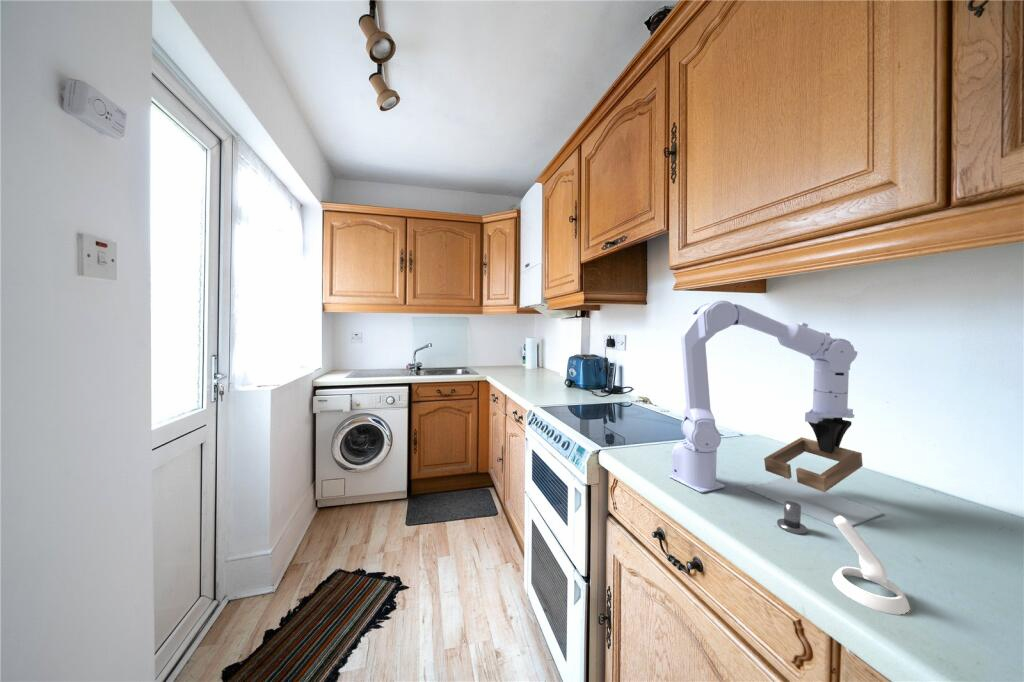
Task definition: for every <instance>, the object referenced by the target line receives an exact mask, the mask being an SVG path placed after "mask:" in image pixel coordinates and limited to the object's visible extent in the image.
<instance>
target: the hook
mask: <svg viewBox="0 0 1024 682" xmlns="http://www.w3.org/2000/svg"><path fill="white" fill-rule="evenodd" d="M833 521H834V523H835V524H836V526H837V527H838V528H837V527H836V528H837V529H838V530H839V531H840V532H841V533H842V535H843V536H844V538H845V539H846V540H847V541H848V542H849V544H850V545H851V546H852V548H853V549H854V550H855V551H856V553H857V554H858V563H859V566H860V568H859V567H854V566H842V567H840V568H838V569H837V570H836V571H835V572H834V574H833V575H832V578H831V580H832V583H833V585H834V586H835V587H836V588H837V590H839V591H840V592H841V593H843V595H845V596H847V597H848V598H849V599H851V600H853V601H855V602H857V603H858V604H860V605H862V606H865V607H868V608H869V609H872V610H875V611H877V612H881V613H885V614H890V615H894V616H895V615H897V616H899V615H900V616H902V615H901V614H903V615H906V614H905V613H906V612H908V611H909V610H910V611H911V606H910V603H909V601H908V599H907V596H906V595H905V593H904V592H903V591H902V590H901V587H899V586H897V585H896V584H895V583H894V582H892V581H890V580H889V579H888V571H887V569H886V567H885V565H884V564H883V563H882V561H881V560H880V559H879V557H878V556H877V555H876V554H875V552H873V550H872V549H871V548H870V546H869V545H868V544H867V543H866V541H865V540H864V539H863V538H862V537H861V536H860V535H861V534H859V533H858V532H857V530H856V529H855V528H854V526H852V525H851V524H850V523H849V522H848V521H847V520H846V519H845V518H844V517H842V516H840V515H839V516H837V517H835V518H834V519H833ZM845 576H851V577H856V578H861V579H863V580H867V581H870V582H873V583H874V584H876V585H879V586H881V587H883V588H885V589H887V590H888V591H889V592H892V593H893V594H895V595H896V596H895V597H891V596H890V597H888V596H884V595H883V596H882V595H879V594H875V593H872V592H869V591H867V590H865V589H862V588H860V587H858V586H857V585H855V584H853V583H852V582H850V581H849V580H848V579H847V578H846V577H845ZM910 611H909V612H910ZM909 612H908V613H909Z"/></svg>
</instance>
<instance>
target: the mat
mask: <svg viewBox="0 0 1024 682" xmlns="http://www.w3.org/2000/svg"><path fill="white" fill-rule="evenodd" d="M745 489H746V490H747V491H750V492H753V493H755V494H757V495H759V496H762V497H764V498H767V499H769V500H772V501H773V502H776V503H778V504H780V505H783V506H784V503H785V501H791V502H795V503H798V504H799V505H801V514H804V515H807V516H809V517H812V518H814V519H816V520H817V521H821V522H823V523H826V524H827V525H830V526H833V527H835V528H837V529H839V528H838V527H837V526H836V524H835V523H834V521H833V519H834V518H835V517H837V516H839V515H840V516H842V517H844V518H845V519H846V520H847V521H848V522H849V523H850V524H851V525H852V527H854V526H857V525H859V524H862V523H864V522H867V521H869V520H873V519H875V518H878V517H880V516H882V515H885V512H884V511H881V510H878V509H876V508H872V507H869V506H867V505H864V504H861V503H859V502H855V501H852V500H850V499H847V498H844V497H842V496H838V495H836V494H833V493H830V492H827V491H826V492H822V491H820V490H817V489H814V488H811V487H809V486H806V485H803V484H801V483H798V482H797V480H793V479H792V478H790V479H787V478H784V477H782V478H778V479H773V480H770V481H766V482H763V483H758V484H754V485H751V486H746V487H745Z"/></svg>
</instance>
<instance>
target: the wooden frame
mask: <svg viewBox="0 0 1024 682" xmlns="http://www.w3.org/2000/svg"><path fill="white" fill-rule="evenodd" d="M803 453H807V454H812V455H815V456H818V457H822V458H826V459H829V460H833V461H835V462H837V463H835V464H834V465H833V466H831V467H829V468H828V469H826V470H825V471H823V472H822V473H820V474H819V473H818V472H817V473H816V472H814V471H810V470H808V469H805V468H801V467H797V468H796V469H795V472H796V481H797V482H798V483H801V484H803V485H806V486H809V487H811V488H814V489H817V490H820V491H822V492H827V491H829V490H830V489H832V488H833V487H834V486H836V485H837V484H839V483H840V482H842V481H844V480H845V479H846V478H848V477H849V476H851V475H852V474H853V473H854V472H857V471H858V470H860V469H861V468H862V467H863V454H862V452H859V451H855V450H852V449H848V448H845V447H841V446H839V447H837V446H835V447H834V451H833V453H827V452H823V451H820V449H819V446H818V442H817V440H813V439H810V438H806V437H803V436H801V437H799V438H797V439H795V440H794V441H792V442H791V443H788V444H787V445H785V446H783V447H781V448H780V449H778V450H776V451H775V452H772V453H771V454H770V455H768V456H765V457H764V458H763V460H764V469H765V471H766V472H769V473H772V474H774V475H777V476H779V477H782V478H787V479H792V478H793V476H792V467H791V464H790V463H789V462H790V461H792V460H793V459H796V457H798V456H800V455H802V454H803Z"/></svg>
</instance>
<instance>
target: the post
mask: <svg viewBox="0 0 1024 682" xmlns="http://www.w3.org/2000/svg"><path fill="white" fill-rule="evenodd" d="M783 506H784V509H783V510H784V511H783V513H784V514H783V518H779V519H777V521H776V524H777V526H778V527H779V528H780V529H782V530H783V531H786V532H788V533H791V534H795V535H807V533H808V527H807V526H805V524H803V523H801V519H802V518H801V517H802V516H801V515H802V512H801V505H799V504H798V503H795V502H791V501H785V503H784V505H783Z"/></svg>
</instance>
